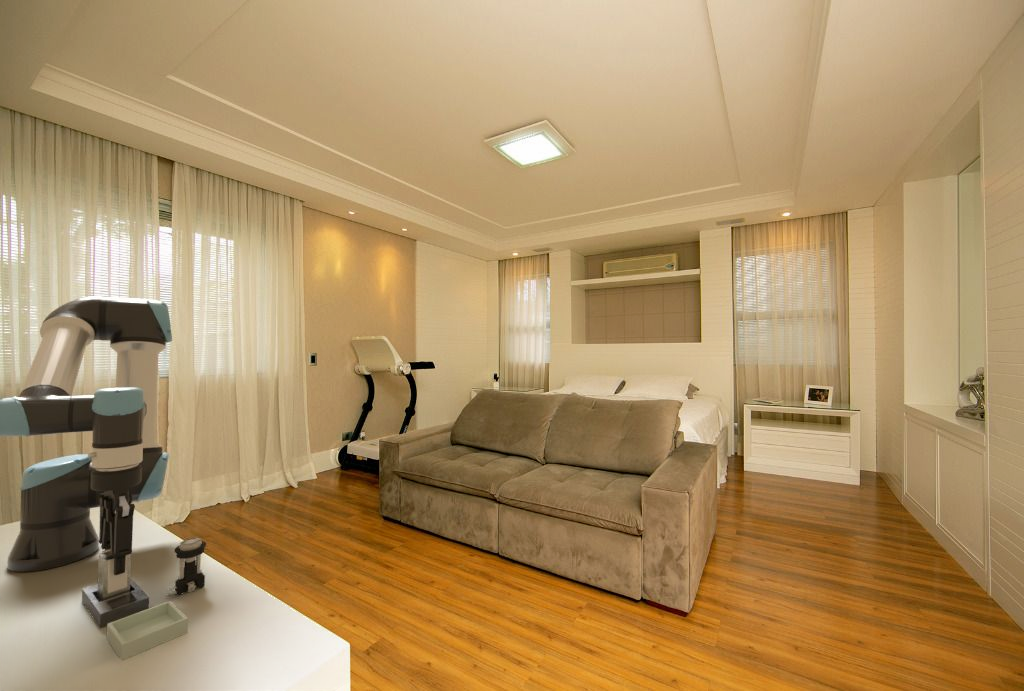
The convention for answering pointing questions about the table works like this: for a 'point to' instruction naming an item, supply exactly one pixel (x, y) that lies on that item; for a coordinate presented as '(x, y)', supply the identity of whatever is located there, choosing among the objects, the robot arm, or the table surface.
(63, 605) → the table surface
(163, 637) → the parts tray
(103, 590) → the block
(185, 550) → the push button
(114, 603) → the dark gray slotted holder
